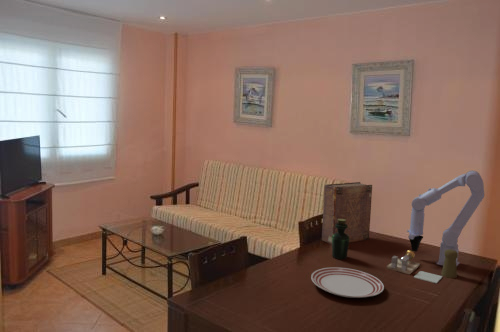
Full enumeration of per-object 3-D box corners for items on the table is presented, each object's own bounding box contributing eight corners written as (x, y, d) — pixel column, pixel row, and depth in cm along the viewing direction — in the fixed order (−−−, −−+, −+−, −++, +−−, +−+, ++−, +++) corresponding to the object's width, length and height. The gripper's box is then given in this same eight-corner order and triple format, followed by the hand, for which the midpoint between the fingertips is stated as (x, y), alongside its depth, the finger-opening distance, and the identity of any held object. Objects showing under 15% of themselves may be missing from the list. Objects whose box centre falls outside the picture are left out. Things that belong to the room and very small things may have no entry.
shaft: (405, 257, 196) (406, 249, 195) (414, 259, 193) (415, 251, 193) (397, 263, 187) (398, 255, 186) (406, 266, 184) (407, 257, 184)
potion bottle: (350, 256, 199) (353, 219, 197) (344, 261, 192) (347, 222, 190) (334, 253, 203) (336, 216, 201) (328, 257, 197) (330, 220, 194)
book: (356, 234, 236) (360, 181, 232) (369, 239, 228) (372, 184, 224) (321, 240, 223) (324, 184, 219) (333, 245, 215) (336, 187, 212)
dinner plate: (384, 280, 172) (385, 272, 171) (382, 309, 146) (383, 300, 146) (317, 270, 181) (317, 263, 180) (304, 296, 155) (304, 287, 155)
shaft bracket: (397, 260, 196) (398, 248, 195) (419, 265, 190) (420, 253, 189) (386, 268, 185) (387, 256, 184) (409, 274, 179) (410, 261, 178)
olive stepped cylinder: (458, 278, 176) (461, 253, 175) (443, 277, 177) (445, 251, 176) (454, 273, 182) (457, 248, 180) (439, 271, 183) (442, 247, 182)
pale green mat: (420, 271, 182) (420, 270, 182) (442, 277, 177) (442, 276, 177) (413, 277, 175) (413, 276, 175) (436, 283, 170) (436, 282, 170)
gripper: (413, 218, 205) (410, 245, 207) (403, 223, 194) (400, 252, 195) (428, 221, 201) (425, 248, 202) (418, 226, 189) (416, 256, 191)
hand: (414, 250), depth 199 cm, fingers closed
